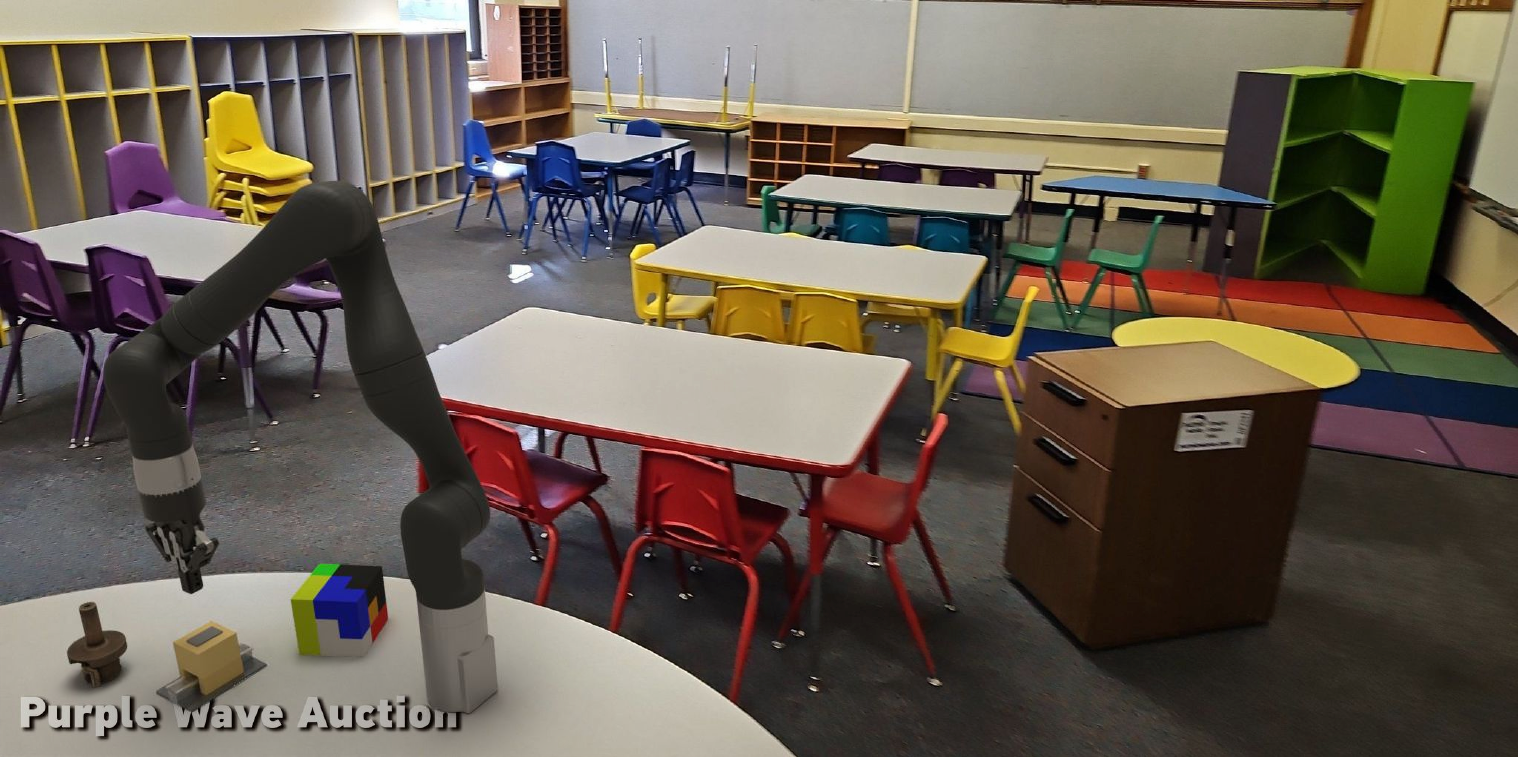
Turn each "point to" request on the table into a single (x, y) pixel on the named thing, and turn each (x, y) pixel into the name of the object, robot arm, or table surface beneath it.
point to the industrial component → (97, 648)
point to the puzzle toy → (340, 610)
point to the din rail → (188, 686)
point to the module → (209, 656)
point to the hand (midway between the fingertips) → (193, 590)
